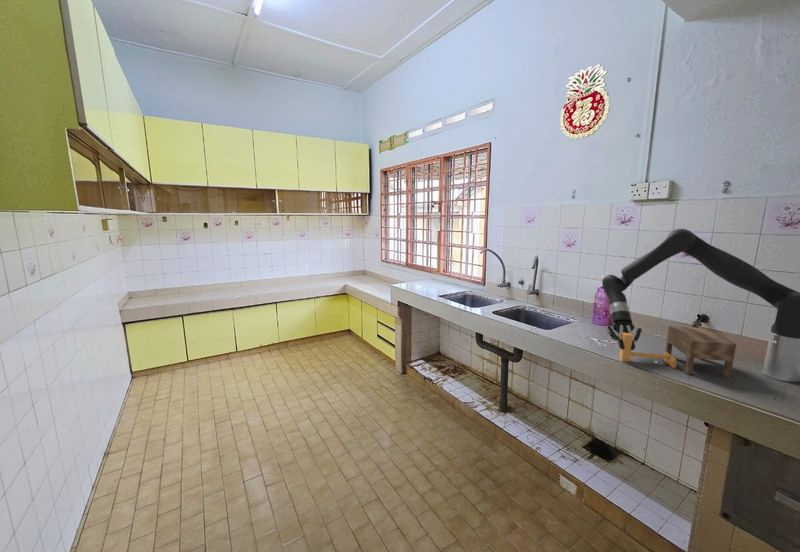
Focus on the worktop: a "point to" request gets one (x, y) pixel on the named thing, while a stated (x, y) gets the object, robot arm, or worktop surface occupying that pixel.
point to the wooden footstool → (701, 346)
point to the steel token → (660, 362)
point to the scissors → (600, 340)
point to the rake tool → (627, 353)
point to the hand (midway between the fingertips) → (627, 349)
